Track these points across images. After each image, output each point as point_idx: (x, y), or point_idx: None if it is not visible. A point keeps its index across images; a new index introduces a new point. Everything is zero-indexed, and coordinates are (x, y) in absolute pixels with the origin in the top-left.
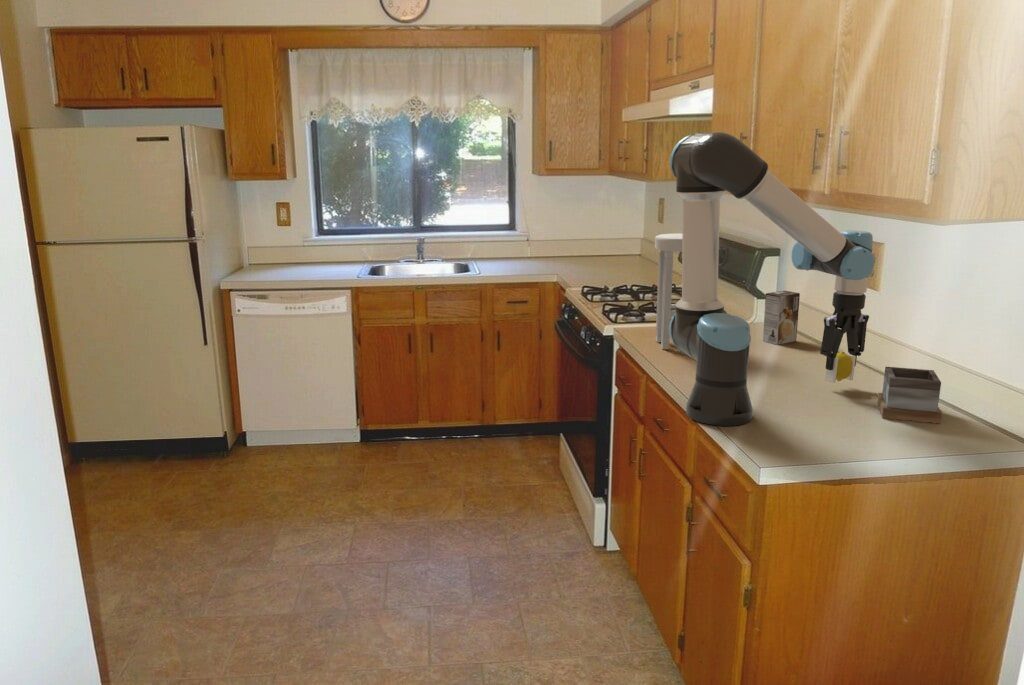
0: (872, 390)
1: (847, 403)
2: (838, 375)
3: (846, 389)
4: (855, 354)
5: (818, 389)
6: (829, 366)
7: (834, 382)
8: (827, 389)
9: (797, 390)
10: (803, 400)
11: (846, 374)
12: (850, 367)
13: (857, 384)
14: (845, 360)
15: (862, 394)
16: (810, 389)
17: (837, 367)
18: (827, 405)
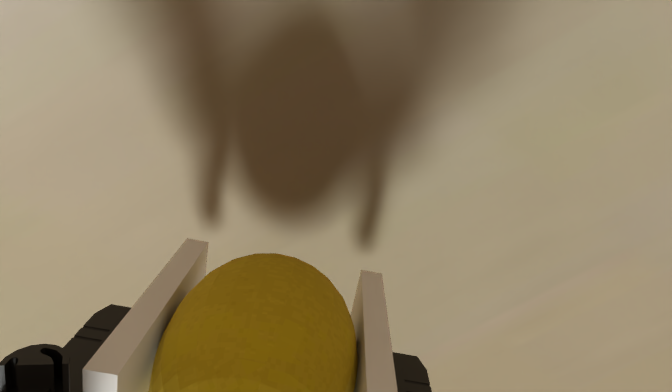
0: (122, 110)
1: (529, 56)
2: (340, 294)
3: (252, 222)
4: (68, 390)
5: (390, 314)
6: (426, 387)
7: (371, 272)
8: (348, 286)
9: (498, 366)
10: (659, 255)
11: (295, 261)
12: (252, 282)
13: (100, 236)
14: (294, 360)
15: (261, 103)
16: (426, 338)
17: (353, 346)
18: (664, 115)
